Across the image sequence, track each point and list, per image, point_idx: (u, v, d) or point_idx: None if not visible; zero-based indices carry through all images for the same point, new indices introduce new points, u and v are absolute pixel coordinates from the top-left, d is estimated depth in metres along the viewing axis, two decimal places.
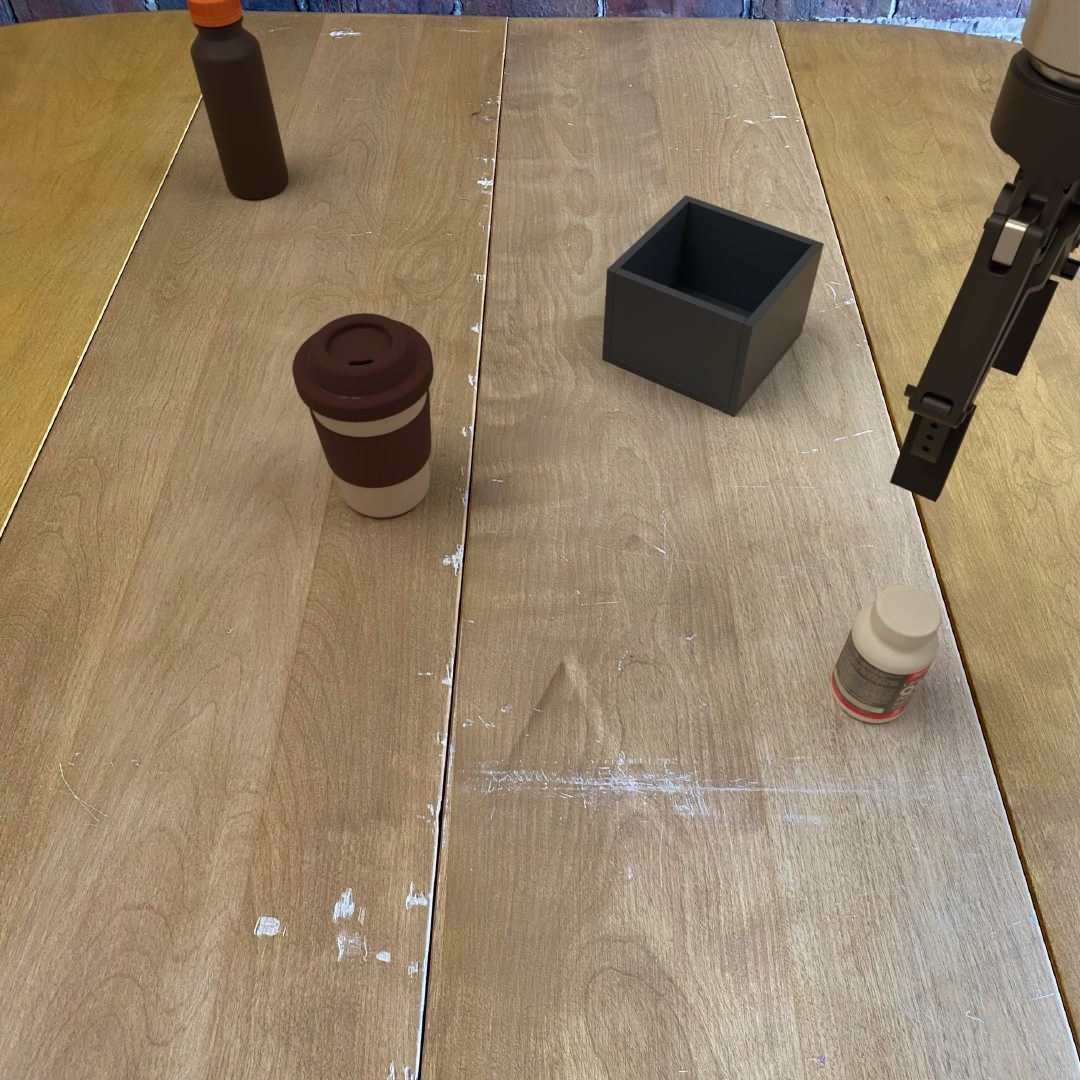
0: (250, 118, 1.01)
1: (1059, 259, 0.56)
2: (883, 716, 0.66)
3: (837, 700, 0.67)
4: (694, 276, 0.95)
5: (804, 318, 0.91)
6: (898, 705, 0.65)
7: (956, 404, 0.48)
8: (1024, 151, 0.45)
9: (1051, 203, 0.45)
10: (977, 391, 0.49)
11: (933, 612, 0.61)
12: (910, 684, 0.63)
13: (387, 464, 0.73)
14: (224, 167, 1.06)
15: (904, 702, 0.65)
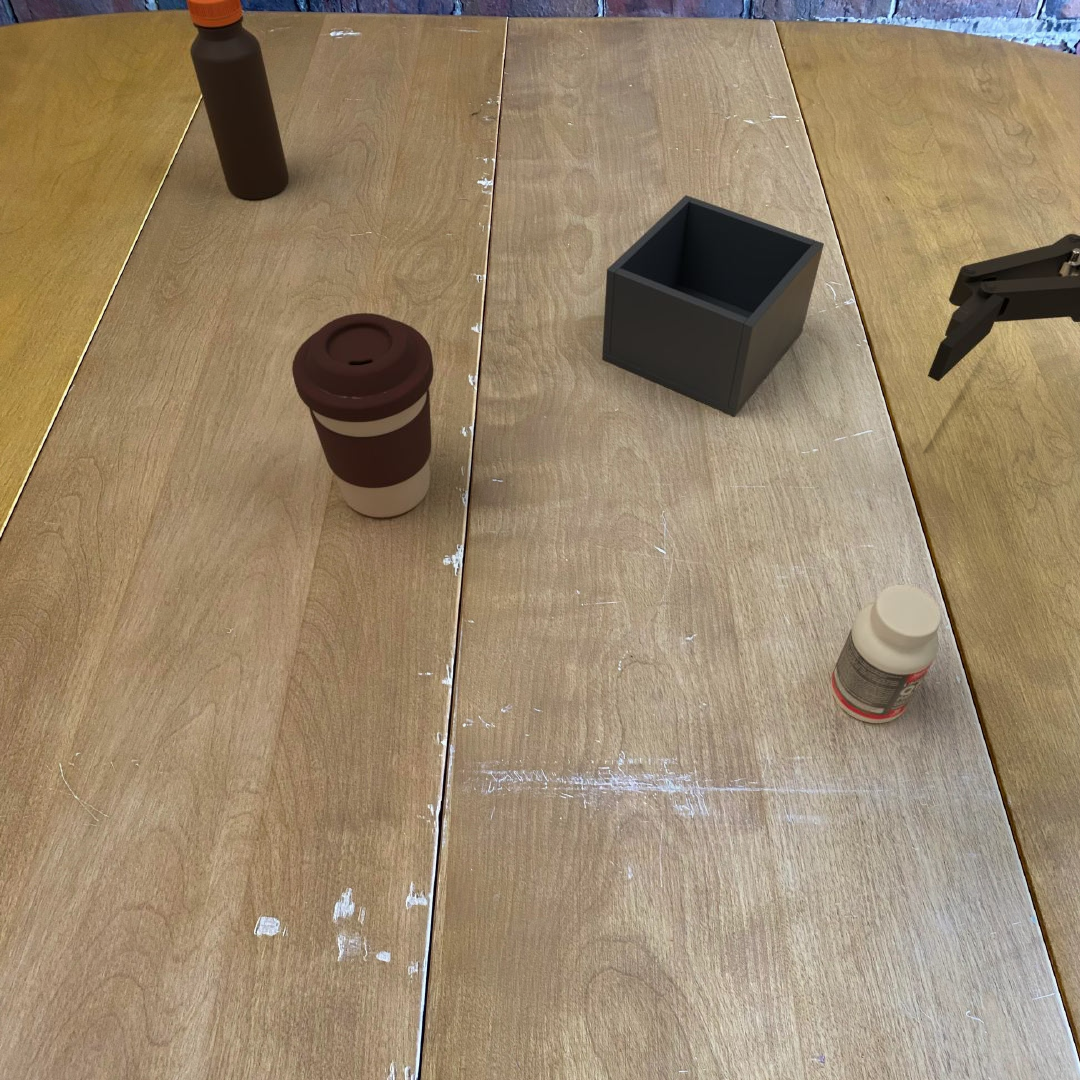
0: (250, 118, 1.01)
1: None
2: (883, 716, 0.66)
3: (837, 700, 0.67)
4: (694, 276, 0.95)
5: (804, 318, 0.91)
6: (898, 705, 0.65)
7: None
8: None
9: None
10: (1002, 285, 0.63)
11: (933, 612, 0.61)
12: (910, 684, 0.63)
13: (387, 464, 0.73)
14: (224, 167, 1.06)
15: (904, 702, 0.65)
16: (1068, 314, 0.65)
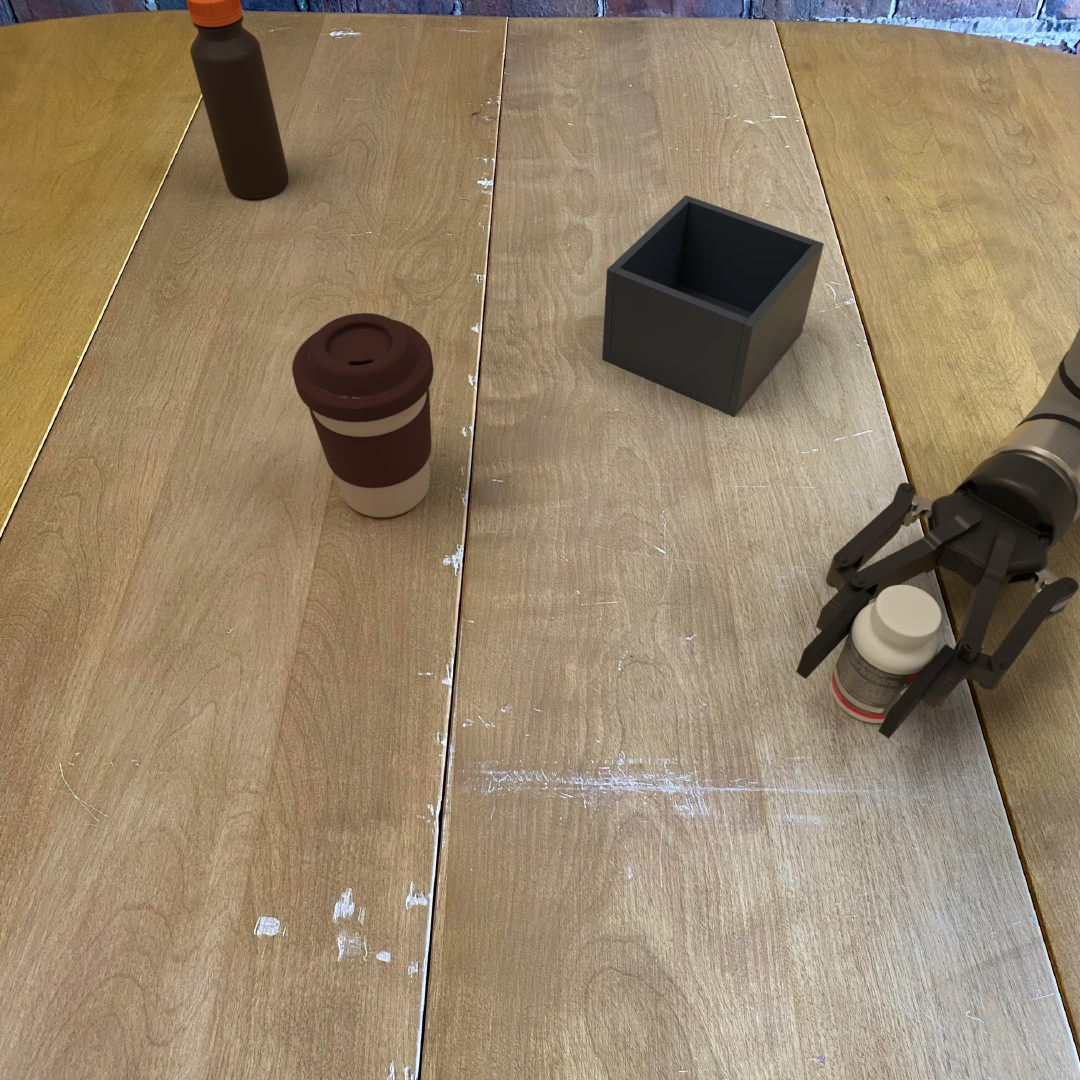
0: (249, 118, 1.01)
1: (967, 620, 0.64)
2: (883, 716, 0.66)
3: (837, 700, 0.67)
4: (694, 276, 0.95)
5: (804, 318, 0.91)
6: None
7: None
8: None
9: None
10: (868, 573, 0.66)
11: (933, 612, 0.61)
12: (910, 684, 0.63)
13: (387, 464, 0.73)
14: (224, 167, 1.06)
15: None
16: (922, 571, 0.69)
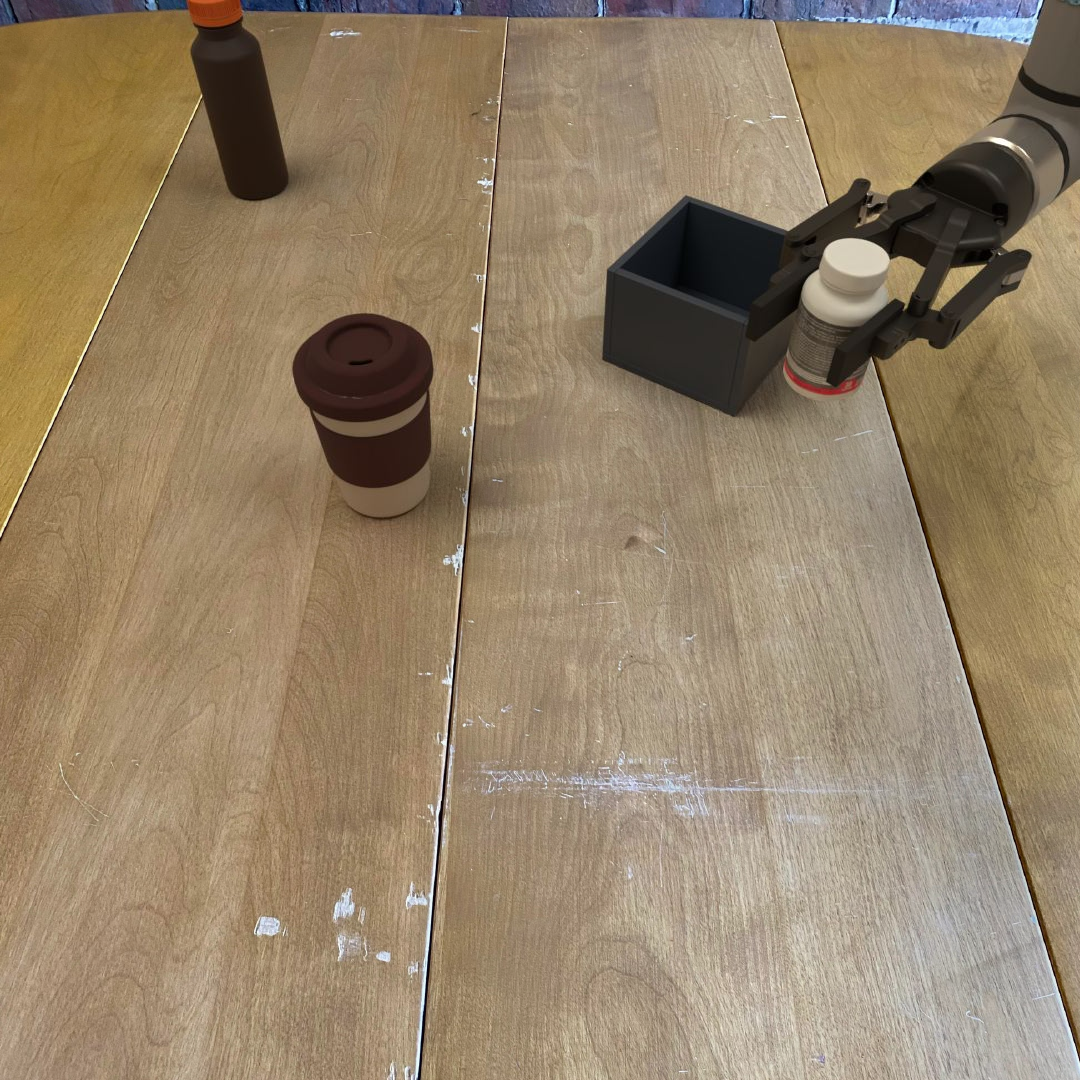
0: (249, 118, 1.01)
1: None
2: (834, 390, 0.65)
3: (789, 382, 0.67)
4: (694, 276, 0.95)
5: None
6: (849, 376, 0.64)
7: None
8: None
9: None
10: (820, 246, 0.65)
11: (882, 258, 0.60)
12: None
13: (387, 464, 0.73)
14: (224, 167, 1.06)
15: (855, 372, 0.64)
16: None
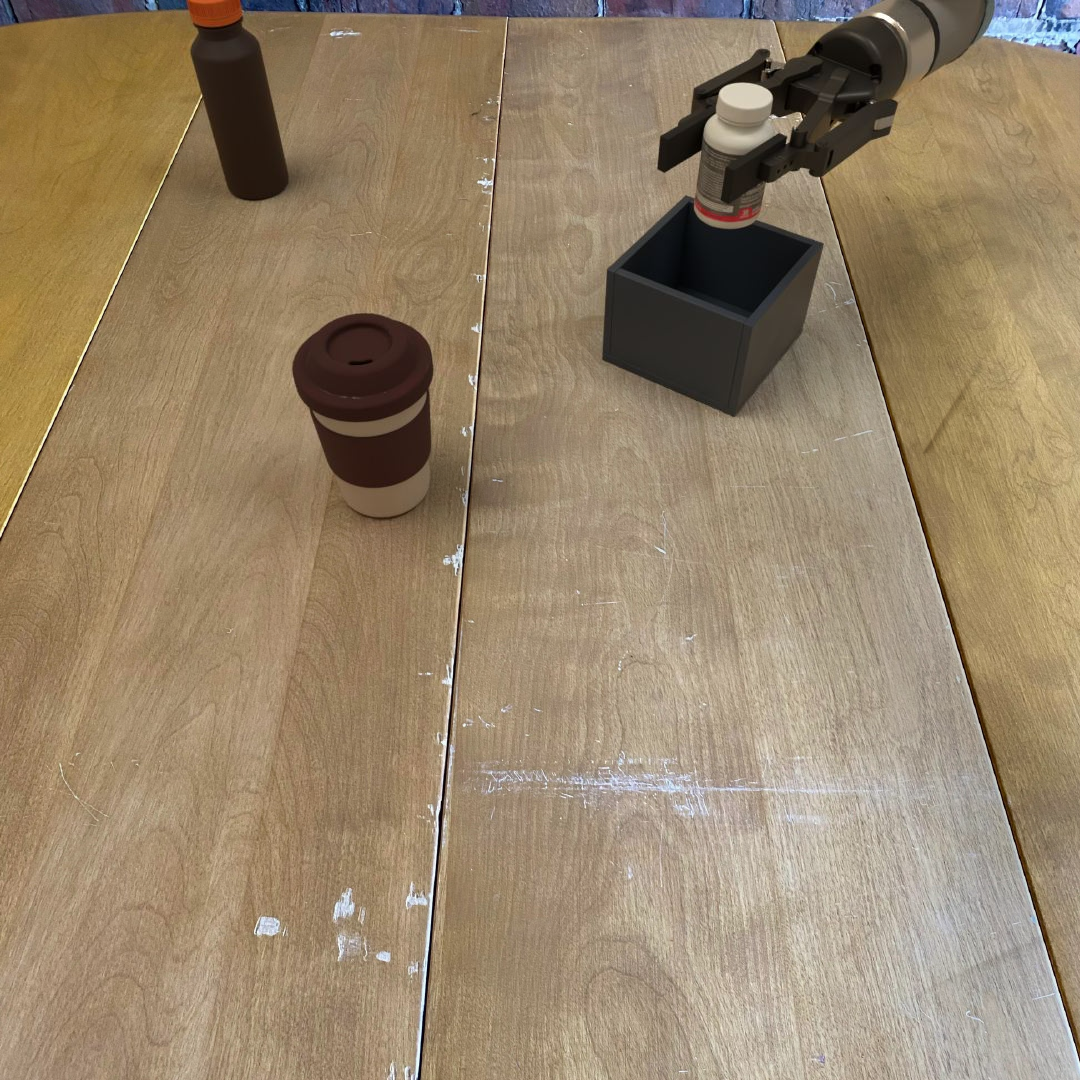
0: (250, 118, 1.01)
1: (801, 123, 0.75)
2: (734, 218, 0.78)
3: (698, 214, 0.79)
4: (694, 276, 0.95)
5: (804, 318, 0.91)
6: (745, 203, 0.77)
7: None
8: None
9: None
10: None
11: (766, 96, 0.73)
12: None
13: (387, 464, 0.73)
14: (224, 167, 1.06)
15: (750, 201, 0.77)
16: (773, 112, 0.81)
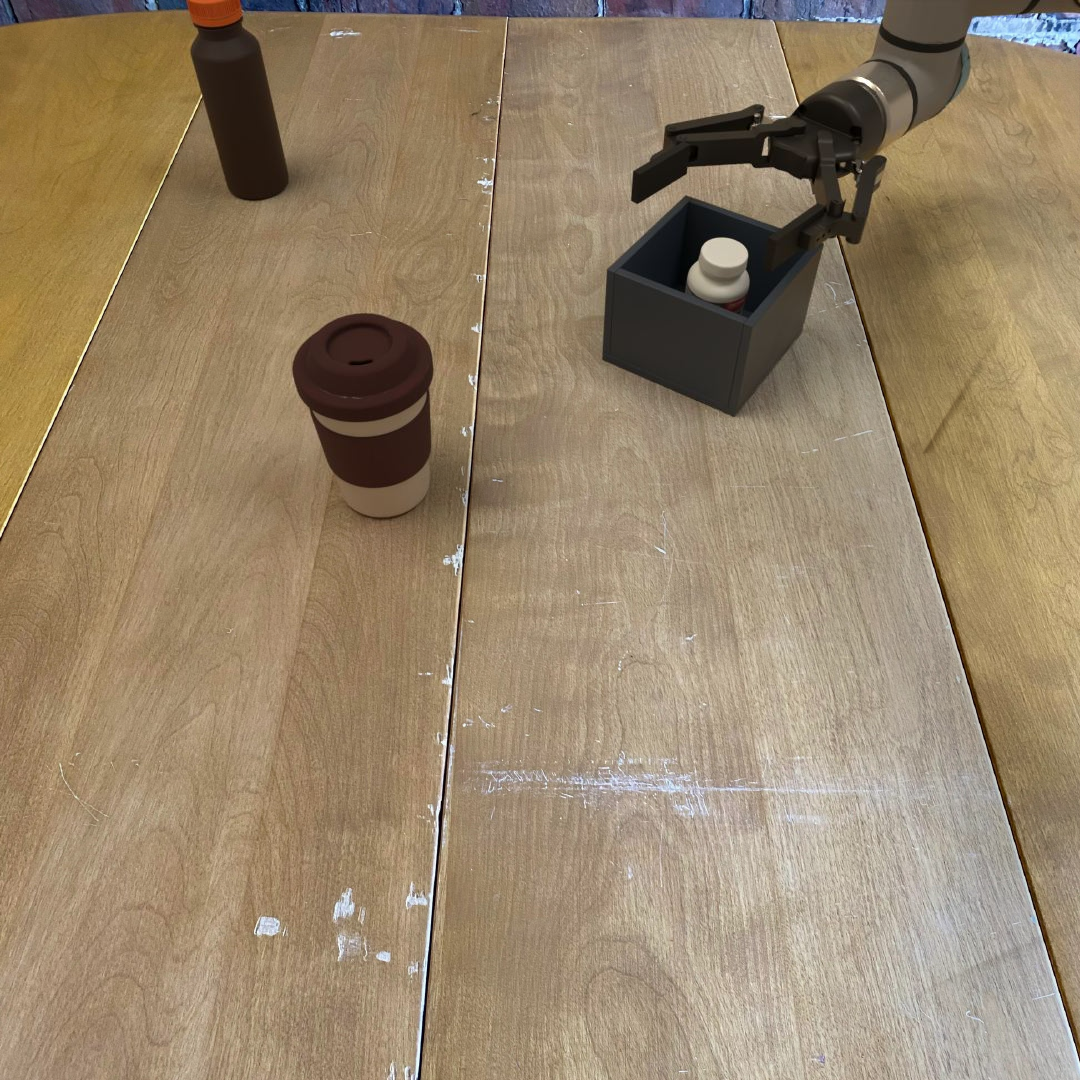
0: (249, 118, 1.01)
1: (824, 192, 0.79)
2: None
3: None
4: None
5: (804, 318, 0.91)
6: None
7: None
8: None
9: None
10: (692, 136, 0.85)
11: (742, 253, 0.83)
12: None
13: (387, 464, 0.73)
14: (224, 167, 1.06)
15: None
16: (748, 161, 0.86)
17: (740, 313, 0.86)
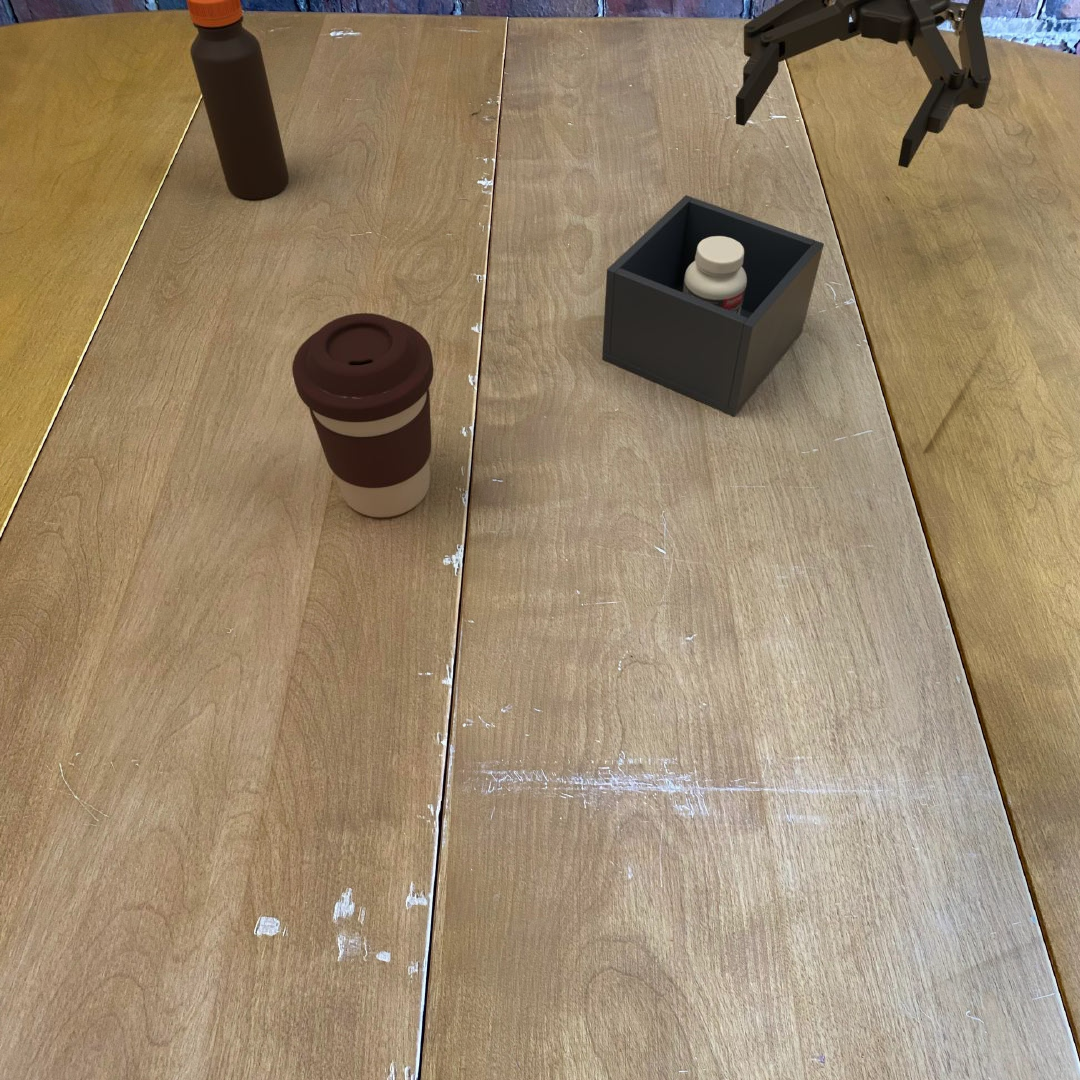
0: (250, 118, 1.01)
1: (936, 61, 0.77)
2: None
3: None
4: None
5: (804, 318, 0.91)
6: None
7: None
8: None
9: None
10: (777, 31, 0.81)
11: (738, 250, 0.83)
12: None
13: (387, 464, 0.73)
14: (224, 167, 1.06)
15: None
16: (835, 37, 0.83)
17: (738, 311, 0.87)
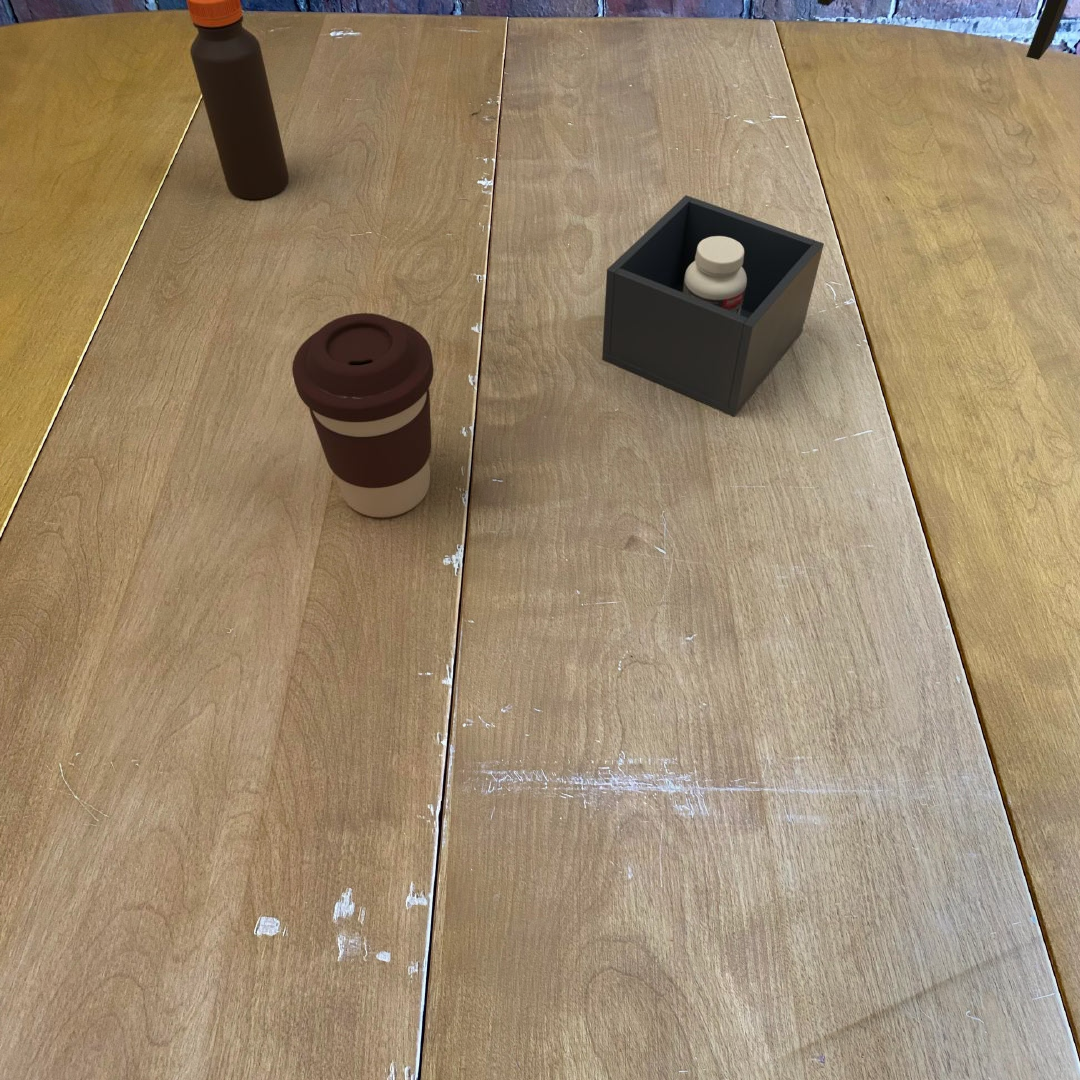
0: (249, 118, 1.01)
1: None
2: None
3: None
4: None
5: (804, 318, 0.91)
6: None
7: None
8: None
9: None
10: None
11: (738, 250, 0.83)
12: None
13: (387, 464, 0.73)
14: (224, 167, 1.06)
15: None
16: None
17: (738, 311, 0.87)
